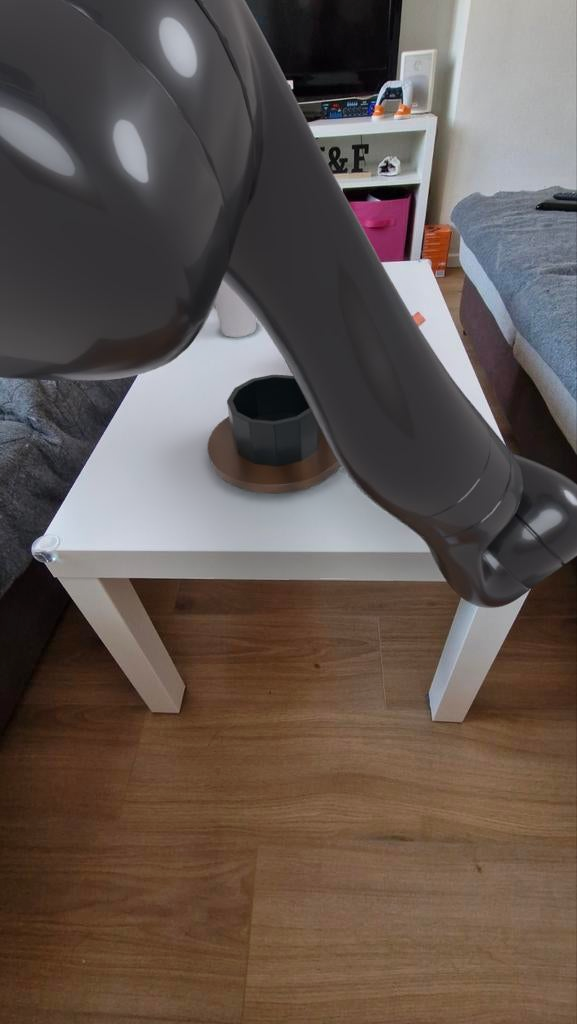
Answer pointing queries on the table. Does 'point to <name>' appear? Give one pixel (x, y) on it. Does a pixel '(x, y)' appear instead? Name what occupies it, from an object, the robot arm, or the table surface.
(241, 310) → the coffee cup
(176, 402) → the table surface
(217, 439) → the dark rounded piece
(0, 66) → the robot arm
